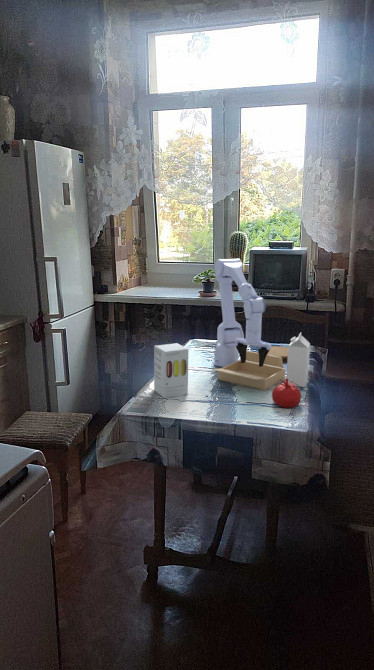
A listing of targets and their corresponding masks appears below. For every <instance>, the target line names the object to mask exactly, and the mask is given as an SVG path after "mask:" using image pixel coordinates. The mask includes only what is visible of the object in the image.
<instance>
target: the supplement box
mask: <svg viewBox="0 0 374 670" xmlns="http://www.w3.org/2000/svg"><path fill="white" fill-rule="evenodd" d="M153 350H154V353H153V354H154V356H153V358H154V361H153V367H154V369H153V370H154V373H153V374H154V375H153V376H154V378H153V380H154V381H153V382H154V383H153V391H154V392H155V393H157V394H158V395H160V396H161V397H162V398H164V399H168V398H175V397H180V396H181V397H182V396H185V395H186V396H187V395H188V394H189V348H187V347H186V346H184V345H181V344H179V343H177V342H176V343H175V342H174V343H166V344H158V345H157V344H156V345H154V346H153Z"/></svg>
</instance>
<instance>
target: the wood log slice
mask: <svg viewBox="0 0 374 670" xmlns="http://www.w3.org/2000/svg"><path fill="white" fill-rule="evenodd" d="M268 355H273V356H278V357H281V358H282V362H283V363H287V361H288V347H286V346H279V345H278V346H277V345H275V346H274V345H272V346H271V349H270V351H269V352H268Z"/></svg>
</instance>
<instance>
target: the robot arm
mask: <svg viewBox="0 0 374 670" xmlns="http://www.w3.org/2000/svg"><path fill="white" fill-rule="evenodd" d="M214 275H215V280H216V281H217V282H218V285H219V294H220V295H219V296H220V305H221V313H222V314H221V315H222V322H221V323H220V324H219V325H218V327H217V334H216V339H217V342H218V343H217V344H216V345H215V349H214V363H213V366H216V367H221V368H223V367H225V366H228V365H230V364H232V363H234V362H236V361H239V357H240V360H241V363H245V362H246V351H248V347H249V346H250V347H253V348H254V347H255V348H258V349H257V353H259V367H262V366H263V364H264V361H265V358H266V356H267V354H268V352H269V351H270V349H271V347H272V346H273V345H272V343H270V342H266V341H263V340H261V339H262V322H263V319H262V318H263V313H265V311H266V301H265V299H264V298H263V297H262V296H260V295H258V294H257V292H256V290H255V289H254V287H253V286H252V284H251V283H248V282H247V279H246V277H245V275H244V272H243V262H242V260H241V259H240V258H239V257H238V258H227V259H226V258H223V259H221V258H218V259H217V260H216V261H215V264H214ZM233 281H234V282H235V284H236V285H237V287H238V289H237V290H238V291H237V292H238V294H239V296H240V298H241V300H242V302H243V311H244V316H245V318H246V320H245V335H244V331H243V328H242V325H241V324H240V323H239V322H238V321H236V313H235V306H234V305H235V304H234V296H233V288H232V287H233V286H232V283H233ZM244 337H245V338H244ZM264 365H265V364H264Z"/></svg>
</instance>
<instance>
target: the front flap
mask: <svg viewBox="0 0 374 670" xmlns="http://www.w3.org/2000/svg"><path fill="white" fill-rule="evenodd" d="M221 368H222V367H221ZM221 368H212V371H216V372H218V371H219V372H224V373H228V374H233V375H237V376H242V377H246V378H251V379H255V380H260V379H264V378H262V377H257V376H253V375H248V374H244V373H239V372H234V371H230V370H225V369H221Z"/></svg>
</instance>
